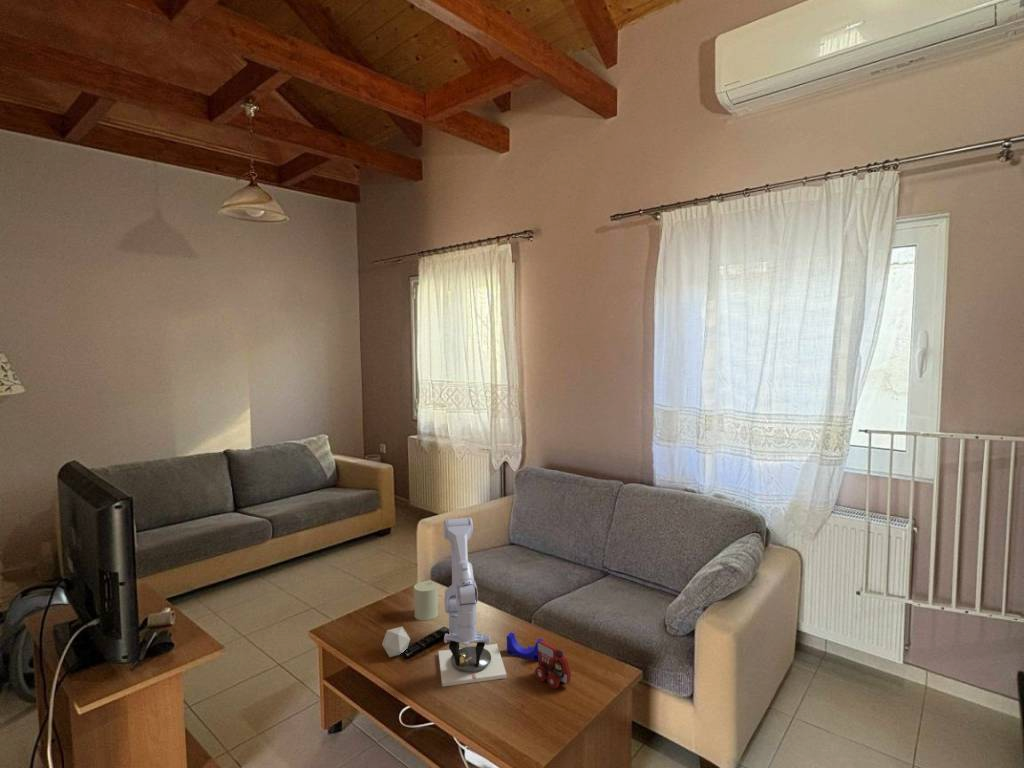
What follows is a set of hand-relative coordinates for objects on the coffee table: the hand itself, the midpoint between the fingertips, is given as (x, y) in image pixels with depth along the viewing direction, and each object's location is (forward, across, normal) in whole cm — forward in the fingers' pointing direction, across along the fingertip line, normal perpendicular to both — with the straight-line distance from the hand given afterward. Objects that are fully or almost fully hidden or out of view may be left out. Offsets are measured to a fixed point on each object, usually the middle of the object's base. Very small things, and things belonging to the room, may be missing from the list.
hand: (467, 664), depth 168 cm
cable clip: (+3, +17, +13) cm, 22 cm away
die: (+3, -26, +10) cm, 28 cm away
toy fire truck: (+3, +27, -1) cm, 27 cm away
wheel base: (+3, 0, +4) cm, 5 cm away
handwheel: (+1, 0, +4) cm, 4 cm away
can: (+4, -24, +37) cm, 44 cm away
